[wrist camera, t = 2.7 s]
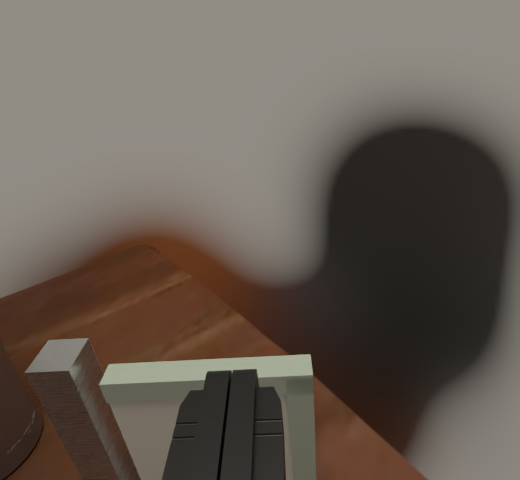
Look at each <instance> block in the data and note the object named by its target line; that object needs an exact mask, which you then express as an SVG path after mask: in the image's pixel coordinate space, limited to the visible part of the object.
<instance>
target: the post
mask: <svg viewBox="0 0 520 480" xmlns="http://www.w3.org/2000/svg"><path fill="white" fill-rule="evenodd" d="M25 375H26V376H27V378H28V380H29V382H30V384H31V386H32V387H33V389H34V391H35V393H36V395H37V397H38V398H39V400H40V402H41V404H42V406H43V408H44V409H45V411H46V413H47V415H48V417H49V419H50V420H51V422H52V424H53V426H54V428H55V430H56V431H57V433H58V435H59V437H60V439H61V441H62V442H63V444H64V446H65V448H66V450H67V452H68V454H69V455H70V457H71V459H72V461H73V463H74V465H75V466H76V468H77V470H78V472H79V474H80V476H81V477H82V479H83V480H141V479H140V476H139V474H138V471H137V469H136V467H135V464H134V462H133V459H132V457H131V455H130V452H129V450H128V447H127V445H126V443H125V440H124V438H123V436H122V433H121V431H120V428H119V426H118V424H117V421H116V419H115V416H114V414H113V412H112V409H111V407H110V404H109V403H106V400H105V398H104V396H103V393H102V391H101V389H100V386H99V384H100V382H101V380H102V378H103V376H104V375H103V373H102V370H101V368H100V365H99V363H98V360H97V358H96V355H95V353H94V350H93V348H92V345H91V343H90V340H89V338H80V339H62V340H48V342H47V343H46V344H45V346H44V347H43V348H42V350H41V351H40V352H39V354H38V355H37V357H36V358H35V359H34V361H33V362H32V363H31V365H30V366H29V367H28V369H27V370H26V371H25Z"/></svg>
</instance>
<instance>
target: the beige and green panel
mask: <svg viewBox="0 0 520 480" xmlns="http://www.w3.org/2000/svg"><path fill="white" fill-rule="evenodd" d="M244 369H257V374H258V382H259V387H274V388H275V390H276V392H277V394H278V396H279V398H280V400H281V404H282V415H283V426H284V441H285V468H286V480H316V454H315V422H314V390H313V371H312V365H311V356H310V354H307V355H287V356H267V357H246V358H226V359H205V360H185V361H165V362H144V363H124V364H109V365H108V367H107V369H106V372H105V374H104V376H103V378H102V380H101V382H100V384H99V386H100V389H101V391H102V393H103V396H104V398H105V400H106V403H109V404H110V407H111V409H112V412H113V414H114V416H115V419H116V421H117V424H118V426H119V428H120V431H121V433H122V436H123V438H124V440H125V443H126V445H127V447H128V450H129V452H130V455H131V457H132V459H133V462H134V464H135V467H136V469H137V471H138V474H139V476H140V479H141V480H162V477H163V473H164V468H165V464H166V460H167V456H168V452H169V448H170V444H171V441H172V436H173V432H174V428H175V426H176V419H177V415H178V411H179V407H180V405H181V403H182V402H183V400H184V399H185V397H186V396H187V395H188V393H189V392H190V390H203V388H204V383H205V377H206V374H207V372H208V371H225V370H231V371H232V372H233V370H244Z"/></svg>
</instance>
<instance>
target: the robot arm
mask: <svg viewBox="0 0 520 480" xmlns="http://www.w3.org/2000/svg"><path fill="white" fill-rule="evenodd" d="M42 427H43V421H42V416H41V414H40V412H39V410H38V408H37V406H36V404H35V403H34V401H33V399H32V397H31V395H30V394H29V392H28V390H27V388H26V386H25V384H24V382H23V381H22V379H21V377H20V375H19V373H18V372H17V370H16V368H15V366H14V365H13V363H12V361H11V359H10V357H9V356H8V354H7V352H6V350H5V348H4V347H3V345H2V343H1V341H0V480H2V479H4V478H5V477H6V476H8V475H9V474H10V473H11V472H13V471H14V470H15V469H16V468H17V467H18V466H19V465H20V464H21V463H22V462H23V461H24V460H25V459H26V457H27V456H28V455H29V454H30V452H31V451H32V450H33V448H34V447H35V445H36V443H37V441H38V439H39V437H40V435H41V431H42ZM162 480H286V468H285V441H284V426H283V415H282V404H281V400H280V398H279V396H278V394H277V392H276V390H275V388H274V387H259V382H258V374H257V369H244V370H233V372H232V371H231V370H225V371H208V372H207V374H206V377H205V383H204V388H203V390H190V392H189V393H188V395H187V396H186V397H185V399H184V400H183V402H182V403H181V405H180V407H179V411H178V415H177V419H176V426H175V428H174V432H173V436H172V441H171V444H170V448H169V452H168V456H167V460H166V464H165V468H164V473H163V477H162Z"/></svg>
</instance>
